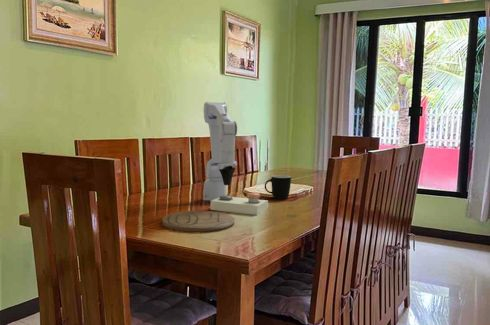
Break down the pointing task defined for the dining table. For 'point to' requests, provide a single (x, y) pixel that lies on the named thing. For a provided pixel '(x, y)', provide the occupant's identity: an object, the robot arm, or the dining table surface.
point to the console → (239, 206)
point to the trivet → (198, 221)
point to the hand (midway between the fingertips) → (226, 185)
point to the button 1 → (226, 197)
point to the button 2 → (253, 197)
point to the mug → (280, 186)
